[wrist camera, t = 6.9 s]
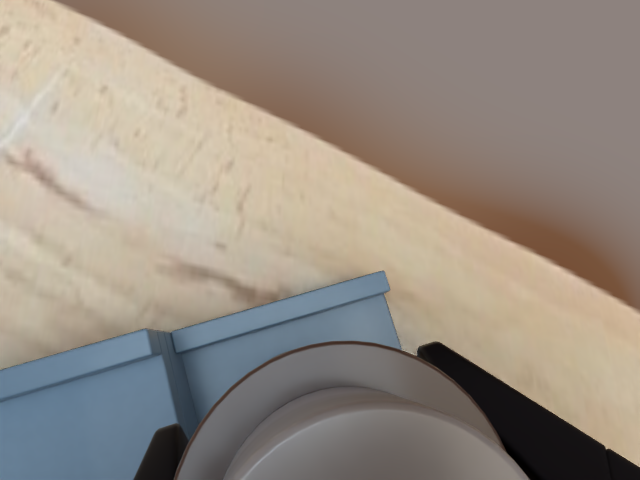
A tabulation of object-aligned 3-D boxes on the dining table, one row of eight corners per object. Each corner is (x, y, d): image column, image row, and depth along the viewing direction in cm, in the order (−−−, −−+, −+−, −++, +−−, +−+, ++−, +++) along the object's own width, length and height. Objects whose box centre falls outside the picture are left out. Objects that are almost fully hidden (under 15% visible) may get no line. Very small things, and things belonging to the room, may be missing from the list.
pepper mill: (405, 399, 16) (817, 542, 4) (329, 536, 15) (562, 1336, 3) (285, 321, 16) (310, 218, 4) (201, 450, 15) (-104, 839, 3)
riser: (438, 477, 19) (496, 522, 14) (-31, 644, 17) (-163, 771, 12) (374, 277, 21) (405, 253, 16) (-66, 405, 18) (-197, 425, 13)
